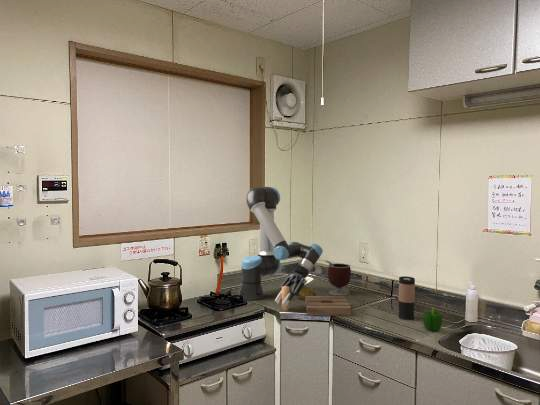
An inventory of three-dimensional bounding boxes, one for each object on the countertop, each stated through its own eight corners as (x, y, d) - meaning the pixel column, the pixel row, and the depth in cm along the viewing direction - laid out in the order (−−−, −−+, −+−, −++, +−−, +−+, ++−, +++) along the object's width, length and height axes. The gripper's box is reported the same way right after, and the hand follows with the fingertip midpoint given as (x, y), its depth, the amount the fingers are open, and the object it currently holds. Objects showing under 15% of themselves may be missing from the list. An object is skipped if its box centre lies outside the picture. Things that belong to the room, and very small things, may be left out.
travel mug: (401, 314, 213) (402, 275, 212) (416, 317, 208) (417, 277, 207) (395, 318, 207) (396, 278, 206) (410, 321, 202) (411, 280, 201)
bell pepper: (435, 334, 184) (435, 312, 184) (419, 329, 191) (419, 307, 190) (446, 330, 189) (446, 308, 189) (429, 325, 196) (430, 304, 195)
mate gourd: (349, 290, 261) (350, 259, 260) (351, 296, 247) (352, 263, 247) (324, 289, 263) (325, 258, 262) (325, 295, 249) (325, 262, 248)
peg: (281, 308, 222) (281, 286, 222) (289, 308, 222) (289, 286, 222) (281, 310, 218) (281, 287, 218) (289, 310, 218) (289, 287, 218)
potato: (308, 302, 233) (308, 288, 233) (291, 298, 243) (291, 284, 242) (317, 300, 239) (317, 286, 239) (301, 295, 248) (301, 282, 248)
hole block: (305, 302, 233) (305, 295, 233) (344, 303, 232) (344, 296, 232) (307, 315, 211) (307, 307, 211) (350, 315, 210) (351, 307, 210)
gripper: (319, 275, 222) (295, 311, 212) (295, 270, 237) (273, 303, 227) (311, 267, 218) (287, 303, 209) (288, 261, 233) (265, 295, 224)
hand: (280, 303), depth 218 cm, fingers open, 6 cm apart
